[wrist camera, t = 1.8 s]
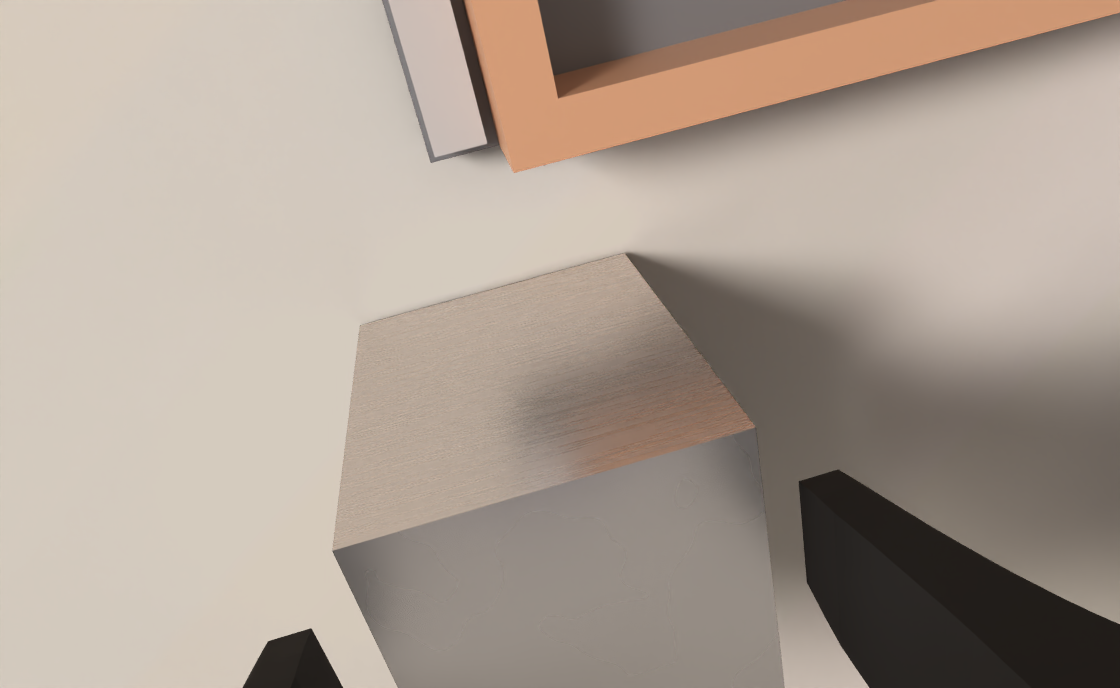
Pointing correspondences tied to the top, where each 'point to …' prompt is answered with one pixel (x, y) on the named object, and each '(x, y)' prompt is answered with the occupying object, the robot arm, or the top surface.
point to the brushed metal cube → (554, 495)
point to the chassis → (667, 61)
